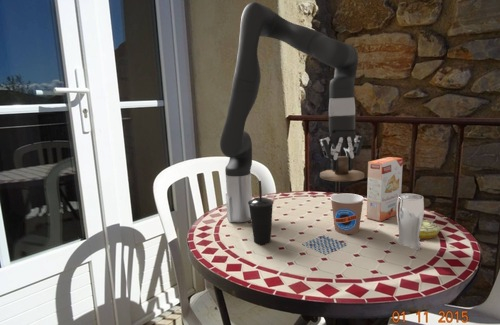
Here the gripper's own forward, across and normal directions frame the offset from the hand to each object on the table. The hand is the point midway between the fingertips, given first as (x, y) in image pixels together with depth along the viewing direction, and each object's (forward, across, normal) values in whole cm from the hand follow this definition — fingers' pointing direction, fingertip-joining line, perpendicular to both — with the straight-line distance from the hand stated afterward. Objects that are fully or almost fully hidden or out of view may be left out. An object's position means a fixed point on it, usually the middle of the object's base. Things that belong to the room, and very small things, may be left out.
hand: (341, 170), depth 102 cm
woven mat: (+22, +9, +6) cm, 25 cm away
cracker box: (+22, -24, -13) cm, 34 cm away
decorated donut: (+22, -24, +5) cm, 33 cm away
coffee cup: (+22, -3, -2) cm, 22 cm away
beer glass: (+22, -14, +12) cm, 29 cm away
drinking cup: (+21, +25, -3) cm, 33 cm away
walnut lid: (+2, 0, 0) cm, 2 cm away
